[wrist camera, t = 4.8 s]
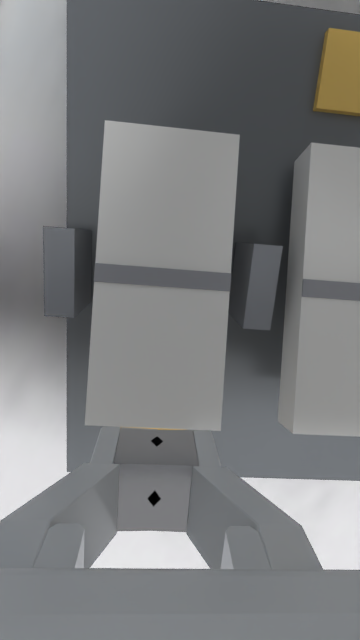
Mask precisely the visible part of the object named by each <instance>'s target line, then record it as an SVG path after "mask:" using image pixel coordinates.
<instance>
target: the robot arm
mask: <svg viewBox="0 0 360 640" xmlns="http://www.w3.org/2000/svg"><path fill="white" fill-rule="evenodd" d="M117 531H173V532H187V535H188V537H189V538H190V540H191V541H192V543H193V544H194V545H195V547H196V548H197V550H198V551H199V553H200V554H201V556H202V557H203V559H204V560H205V561H206V563H207V564H208V566H209V567H210V569H119V568H90V567H91V565H92V564H93V563H94V562H95V560H96V559H97V558H98V557H99V555H100V554H101V553H102V551H103V550H104V549H105V548H106V546H107V545H108V544H109V542H110V541H111V540H112V539H113V537H114V536H115V535H116V533H117ZM0 640H360V570H323V568H322V566H321V564H320V562H319V560H318V558H317V556H316V554H315V552H314V550H313V548H312V546H311V544H310V542H309V540H308V538H307V536H306V534H305V532H304V530H303V528H302V526H301V525H300V524H299V523H297V522H296V521H295V520H293V519H292V518H291V517H290V516H288V515H287V514H286V513H285V512H283V511H282V510H281V509H279V508H278V507H277V506H276V505H274V504H273V503H272V502H270V501H269V500H268V499H267V498H265V497H264V496H263V495H262V494H260V493H259V492H258V491H256V490H255V489H254V488H253V487H251V486H250V485H249V484H247V483H246V482H245V481H244V480H242V479H241V478H240V477H239V476H237V475H236V474H235V473H233V472H232V471H231V470H230V469H228V468H227V467H221V464H220V460H219V457H218V453H217V449H216V446H215V442H214V439H213V435H212V432H211V431H210V430H157V429H146V428H129V427H109V426H103V427H102V428H101V429H100V433H99V436H98V439H97V442H96V445H95V448H94V452H93V455H92V458H91V461H90V463H84V464H82V465H81V466H79V467H78V468H76V469H75V470H73V471H72V472H71V473H69V474H68V475H66V476H65V477H63V478H62V479H60V480H59V481H57V482H56V483H55V484H53V485H52V486H50V487H49V488H47V489H46V490H44V491H43V492H42V493H40V494H39V495H37V496H36V497H34V498H33V499H31V500H30V501H28V502H27V503H26V504H24V505H23V506H21V507H20V508H18V509H17V510H15V511H14V512H12V513H11V514H10V515H8V516H7V517H5V518H4V519H2V520H1V522H0Z"/></svg>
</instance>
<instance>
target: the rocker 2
mask: <svg viewBox="0 0 360 640" xmlns="http://www.w3.org/2000/svg"><path fill="white" fill-rule="evenodd" d="M278 422H279V423H280V424H282V425H283V426H284V427H285V428H286V429H288V430H289V431H290V432H291V433H292V434H307V435H332V436H356V437H360V148H358V147H349V146H340V145H330V144H321V143H312V142H311V143H310V145H309V146H308V147H307V148H306V149H305V150H304V151H303V153H302V154H301V155H300V156H299V157H298V158H297V159H296V161H295V162H294V175H293V191H292V207H291V222H290V238H289V254H288V269H287V285H286V301H285V316H284V332H283V348H282V363H281V379H280V395H279V411H278Z"/></svg>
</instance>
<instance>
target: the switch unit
mask: <svg viewBox="0 0 360 640" xmlns="http://www.w3.org/2000/svg"><path fill="white" fill-rule="evenodd" d="M105 120H108V121H117V122H127V123H136V124H145V125H154V126H164V127H173V128H182V129H191V130H201V131H210V132H219V133H228V134H238V135H240V139H239V155H238V170H237V186H236V201H235V217H234V232H233V248H232V263H231V286H230V294H229V310H228V325H227V341H226V356H225V372H224V387H223V403H222V418H221V431H211V432H212V435H213V439H214V442H215V446H216V449H217V453H218V457H219V460H220V464H221V467H227V468H228V469H230V470H231V471H232V472H233V473H235V474H236V475H237V476H239V477H254V478H286V479H319V480H351V481H360V437H356V436H332V435H307V434H292V433H291V432H290V431H289V430H288V429H286V428H285V427H284V426H283V425H282V424H280V423H279V422H278V411H279V395H280V379H281V363H282V348H283V332H284V316H285V301H286V285H287V269H288V254H289V238H290V222H291V207H292V191H293V175H294V162H295V161H296V159H297V158H298V157H299V156H300V155H301V154H302V153H303V151H304V150H305V149H306V148H307V147H308V146H309V145H310V143H311V142H312V143H321V144H330V145H340V146H349V147H358V148H360V15H359V14H352V13H345V12H337V11H330V10H323V9H316V8H309V7H301V6H294V5H287V4H280V3H273V2H265V1H258V0H67V228H60V227H48V226H43V249H44V310H45V316H55V317H67V472H72V471H73V470H75V469H76V468H78V467H79V466H81V465H82V464H84V463H90V461H91V458H92V455H93V452H94V448H95V445H96V442H97V439H98V436H99V433H100V429H101V428H102V427H103V426H88V425H85V412H86V397H87V382H88V367H89V352H90V337H91V321H92V306H93V291H94V270H95V261H96V246H97V231H98V216H99V201H100V185H101V170H102V155H103V140H104V125H105ZM109 427H113V426H109ZM129 428H137V427H129ZM146 429H157V430H186V429H161V428H146Z"/></svg>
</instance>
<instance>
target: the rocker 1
mask: <svg viewBox="0 0 360 640" xmlns="http://www.w3.org/2000/svg"><path fill="white" fill-rule="evenodd" d="M239 139H240V135H238V134H228V133H219V132H210V131H201V130H191V129H182V128H173V127H164V126H154V125H145V124H136V123H127V122H117V121H108V120H105V125H104V140H103V155H102V170H101V185H100V201H99V216H98V231H97V246H96V261H95V270H94V291H93V306H92V321H91V337H90V352H89V367H88V382H87V397H86V412H85V425H88V426H113V427H137V428H161V429H186V430H210V431H221V418H222V403H223V387H224V372H225V356H226V341H227V325H228V310H229V294H230V286H231V263H232V248H233V232H234V217H235V201H236V186H237V170H238V155H239Z"/></svg>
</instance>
